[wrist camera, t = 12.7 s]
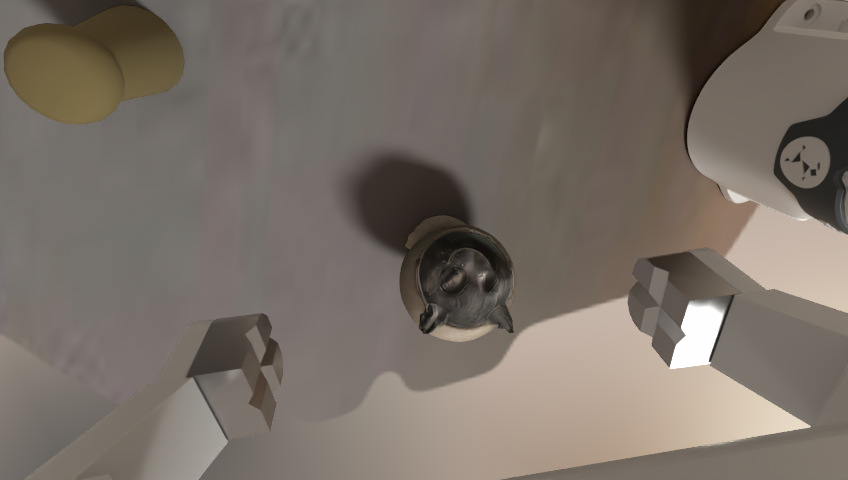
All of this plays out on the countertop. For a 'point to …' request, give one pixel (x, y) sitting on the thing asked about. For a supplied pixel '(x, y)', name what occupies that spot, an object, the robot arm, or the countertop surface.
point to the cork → (93, 63)
